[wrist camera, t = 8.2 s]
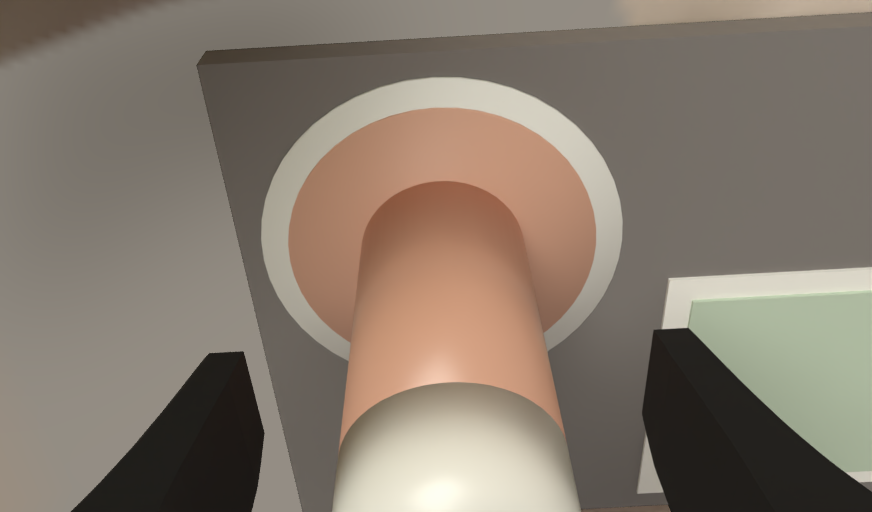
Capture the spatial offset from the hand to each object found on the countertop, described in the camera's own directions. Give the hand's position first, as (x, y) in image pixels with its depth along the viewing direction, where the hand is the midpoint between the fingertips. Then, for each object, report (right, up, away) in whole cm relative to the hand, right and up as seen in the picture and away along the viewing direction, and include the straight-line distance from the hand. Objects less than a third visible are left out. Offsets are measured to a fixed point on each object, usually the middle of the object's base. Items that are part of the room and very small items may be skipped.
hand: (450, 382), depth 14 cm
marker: (0, +2, +3) cm, 4 cm away
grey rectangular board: (+5, +1, +5) cm, 7 cm away
